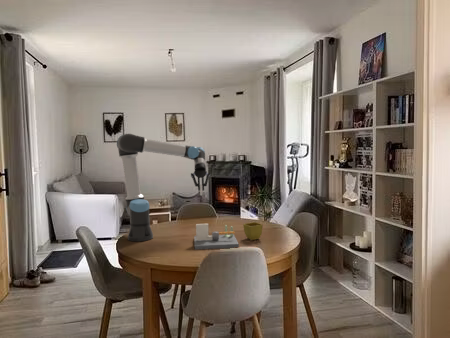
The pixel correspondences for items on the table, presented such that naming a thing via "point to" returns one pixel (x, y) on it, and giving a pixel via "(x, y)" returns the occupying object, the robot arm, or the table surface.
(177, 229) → the table surface
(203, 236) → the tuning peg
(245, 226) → the flower pot
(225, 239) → the lever toy board
